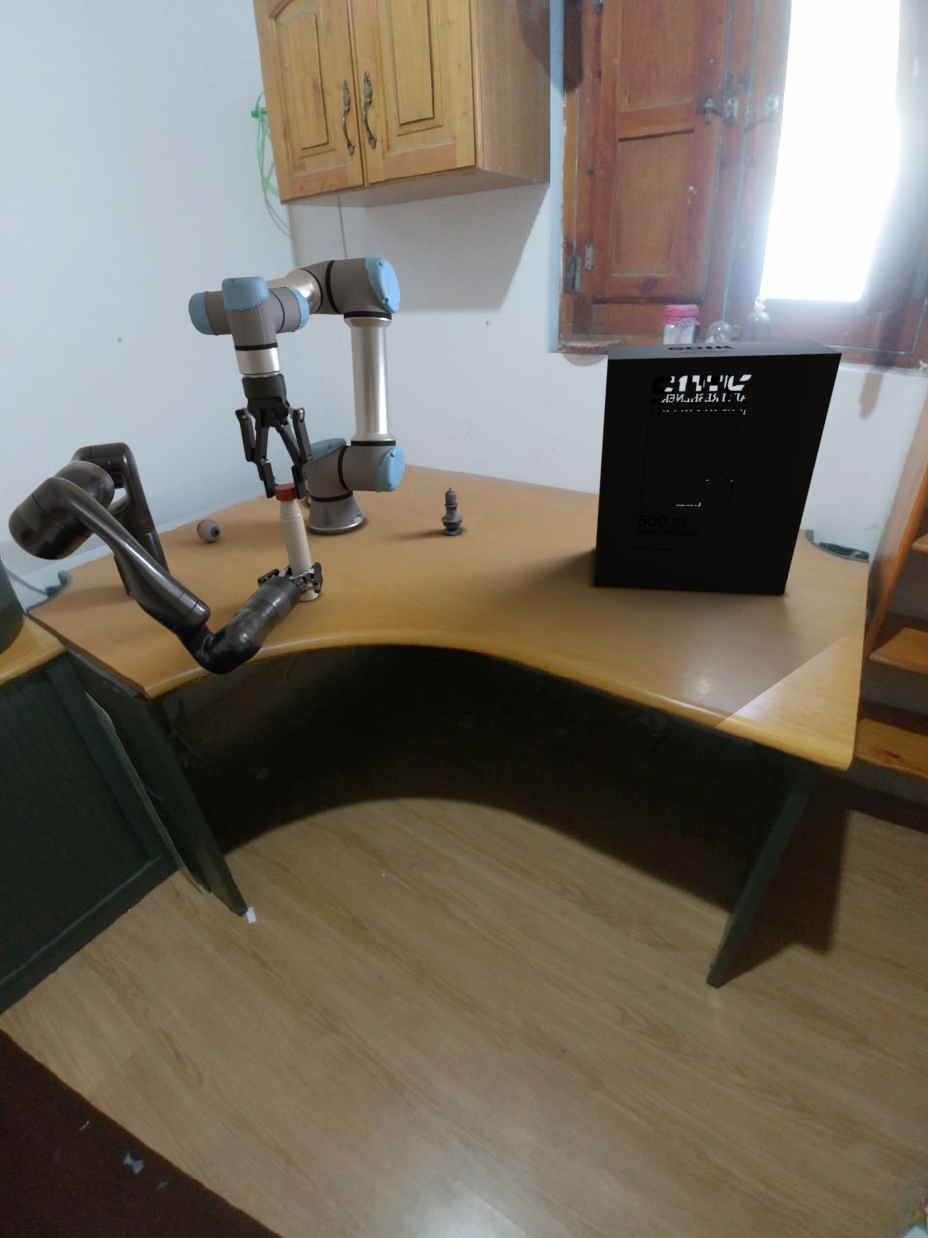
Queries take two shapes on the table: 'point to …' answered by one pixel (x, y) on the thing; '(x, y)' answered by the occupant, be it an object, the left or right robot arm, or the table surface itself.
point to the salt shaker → (451, 515)
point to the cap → (285, 492)
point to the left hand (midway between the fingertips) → (307, 565)
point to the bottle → (296, 541)
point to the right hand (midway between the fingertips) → (287, 496)
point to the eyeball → (208, 530)
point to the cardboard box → (709, 463)
